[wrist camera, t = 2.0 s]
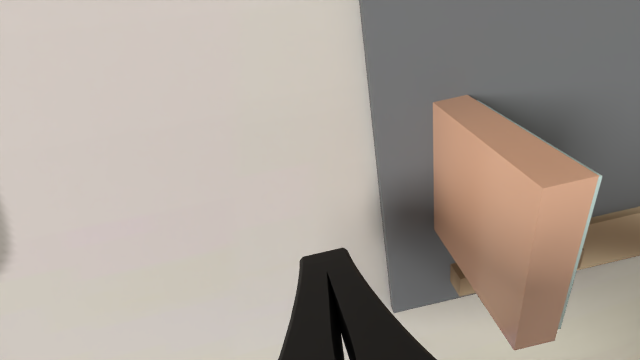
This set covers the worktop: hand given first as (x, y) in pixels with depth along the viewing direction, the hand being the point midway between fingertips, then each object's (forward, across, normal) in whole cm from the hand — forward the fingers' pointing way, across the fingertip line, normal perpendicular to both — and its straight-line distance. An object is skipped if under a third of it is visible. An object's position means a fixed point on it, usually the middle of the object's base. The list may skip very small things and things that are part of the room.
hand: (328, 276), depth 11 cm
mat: (+5, -10, 0) cm, 11 cm away
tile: (+4, -6, 0) cm, 7 cm away
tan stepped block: (+4, -11, +6) cm, 13 cm away
